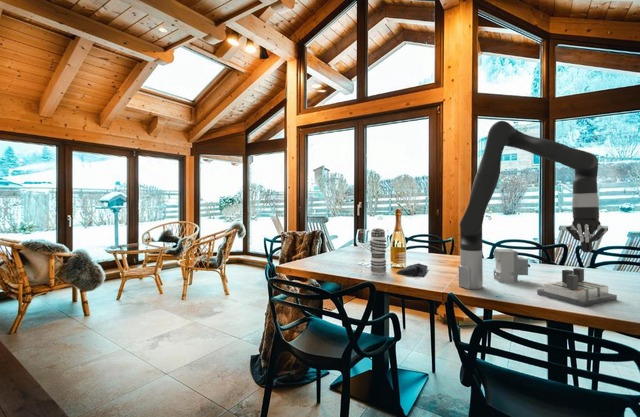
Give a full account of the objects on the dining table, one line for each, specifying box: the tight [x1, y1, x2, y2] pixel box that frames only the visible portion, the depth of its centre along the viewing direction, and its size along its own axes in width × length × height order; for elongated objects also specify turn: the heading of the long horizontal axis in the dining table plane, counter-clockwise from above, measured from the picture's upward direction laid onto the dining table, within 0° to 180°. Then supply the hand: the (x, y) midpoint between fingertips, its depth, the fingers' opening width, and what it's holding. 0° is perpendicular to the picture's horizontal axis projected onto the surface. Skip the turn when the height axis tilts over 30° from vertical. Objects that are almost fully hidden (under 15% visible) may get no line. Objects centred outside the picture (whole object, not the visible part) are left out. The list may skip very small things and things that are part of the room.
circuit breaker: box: [493, 248, 531, 284], centre depth 153 cm, size 8×14×15 cm, turn 78°
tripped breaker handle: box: [567, 274, 578, 289], centre depth 121 cm, size 3×2×5 cm
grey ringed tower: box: [369, 227, 387, 276], centre depth 175 cm, size 9×9×25 cm
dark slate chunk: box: [396, 263, 428, 278], centre depth 176 cm, size 15×22×5 cm
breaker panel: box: [536, 267, 618, 308], centre depth 126 cm, size 20×17×10 cm
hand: (586, 252), depth 116 cm, fingers closed
